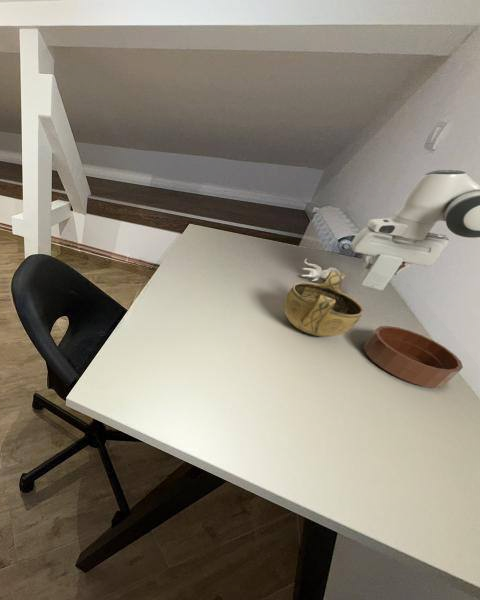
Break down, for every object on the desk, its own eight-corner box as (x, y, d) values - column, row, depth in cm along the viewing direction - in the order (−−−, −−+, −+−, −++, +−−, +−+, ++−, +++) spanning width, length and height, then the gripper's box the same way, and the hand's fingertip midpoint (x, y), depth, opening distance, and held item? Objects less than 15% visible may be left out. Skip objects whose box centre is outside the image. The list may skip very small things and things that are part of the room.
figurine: (305, 256, 116) (346, 260, 110) (302, 261, 124) (340, 264, 118) (301, 278, 116) (341, 283, 110) (298, 281, 124) (336, 285, 118)
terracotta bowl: (424, 355, 85) (440, 338, 82) (458, 399, 72) (479, 381, 69) (354, 335, 90) (366, 319, 86) (374, 373, 77) (389, 356, 73)
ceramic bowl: (284, 301, 102) (307, 260, 94) (345, 325, 94) (376, 283, 85) (266, 330, 88) (291, 285, 80) (336, 362, 79) (372, 315, 71)
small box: (382, 291, 96) (404, 260, 91) (360, 284, 99) (380, 254, 93) (380, 282, 102) (401, 252, 96) (359, 276, 104) (378, 247, 99)
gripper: (447, 233, 90) (415, 275, 97) (363, 218, 96) (339, 259, 103) (459, 240, 85) (424, 283, 92) (370, 224, 91) (344, 266, 98)
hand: (378, 270), depth 98 cm, fingers closed on small box, 6 cm apart
